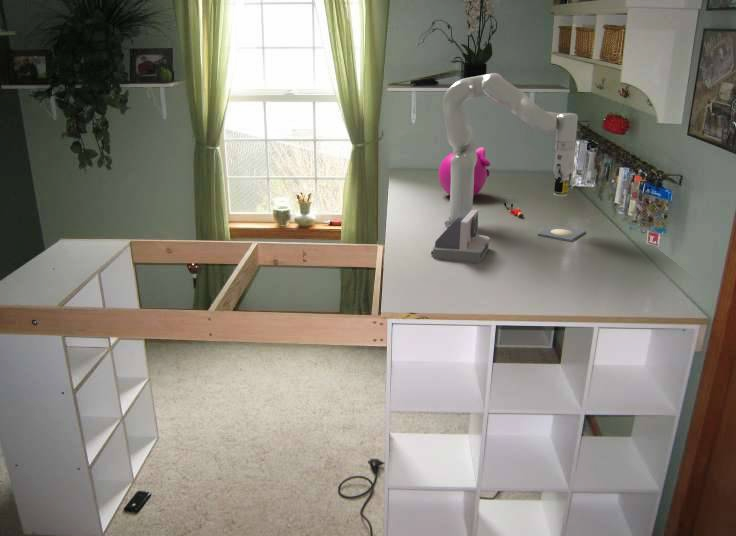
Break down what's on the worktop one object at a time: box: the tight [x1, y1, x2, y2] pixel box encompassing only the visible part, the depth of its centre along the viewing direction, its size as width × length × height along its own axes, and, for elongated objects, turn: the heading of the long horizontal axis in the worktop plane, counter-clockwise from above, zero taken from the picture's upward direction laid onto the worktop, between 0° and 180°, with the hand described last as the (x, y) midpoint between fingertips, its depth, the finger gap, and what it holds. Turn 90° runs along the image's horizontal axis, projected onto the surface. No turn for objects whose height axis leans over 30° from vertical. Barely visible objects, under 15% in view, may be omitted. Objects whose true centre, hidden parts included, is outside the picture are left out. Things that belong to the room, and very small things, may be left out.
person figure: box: [503, 202, 524, 219], centre depth 299 cm, size 5×4×18 cm
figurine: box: [438, 146, 491, 197], centre depth 324 cm, size 23×24×25 cm
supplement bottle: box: [553, 173, 570, 197], centre depth 263 cm, size 5×5×10 cm
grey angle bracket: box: [430, 209, 491, 264], centre depth 243 cm, size 21×21×15 cm
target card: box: [537, 224, 587, 243], centre depth 269 cm, size 16×14×1 cm
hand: (561, 190), depth 264 cm, fingers closed on supplement bottle, 5 cm apart
